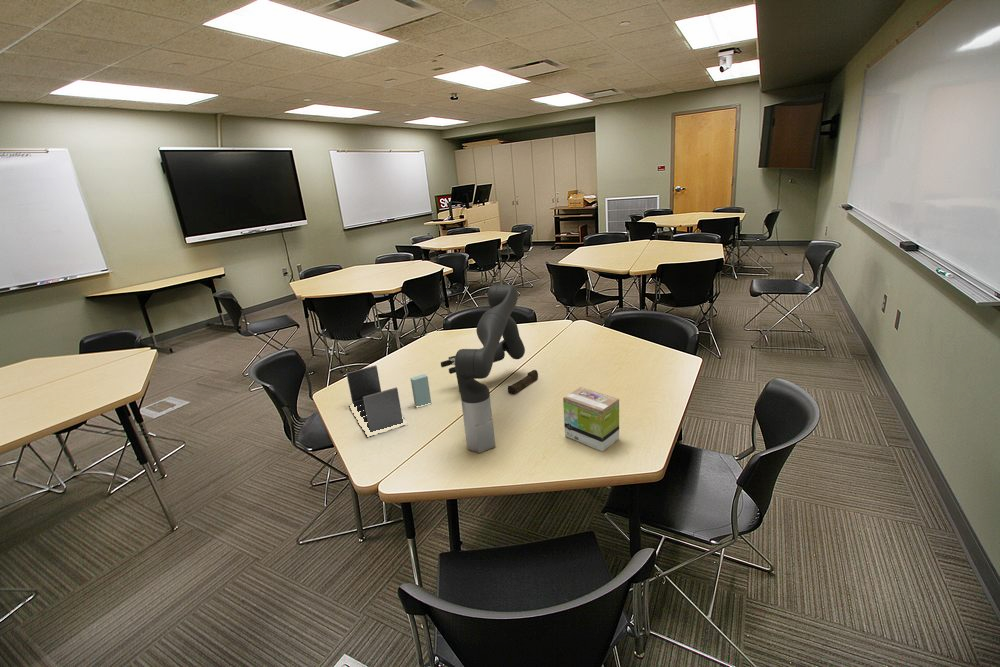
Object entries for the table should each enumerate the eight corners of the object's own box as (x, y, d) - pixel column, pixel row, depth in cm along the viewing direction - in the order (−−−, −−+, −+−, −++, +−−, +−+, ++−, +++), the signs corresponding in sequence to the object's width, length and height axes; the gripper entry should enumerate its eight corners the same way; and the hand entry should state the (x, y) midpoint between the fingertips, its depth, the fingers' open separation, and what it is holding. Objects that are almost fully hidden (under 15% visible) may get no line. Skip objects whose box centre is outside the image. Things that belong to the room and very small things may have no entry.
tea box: (563, 437, 151) (561, 396, 147) (581, 425, 158) (580, 385, 153) (602, 453, 141) (601, 409, 136) (620, 439, 147) (620, 397, 143)
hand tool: (514, 396, 184) (514, 385, 183) (507, 393, 187) (506, 383, 185) (543, 379, 197) (542, 369, 196) (535, 377, 200) (535, 367, 199)
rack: (407, 424, 168) (401, 387, 164) (366, 438, 162) (359, 399, 157) (385, 396, 194) (379, 364, 189) (348, 407, 187) (341, 373, 182)
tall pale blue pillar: (431, 403, 184) (427, 376, 180) (417, 408, 181) (412, 380, 177) (428, 401, 186) (424, 374, 182) (414, 405, 183) (410, 378, 180)
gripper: (472, 344, 197) (437, 354, 190) (487, 354, 185) (451, 364, 178) (474, 361, 199) (439, 371, 192) (489, 371, 187) (453, 382, 180)
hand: (445, 368), depth 185 cm, fingers open, 8 cm apart
